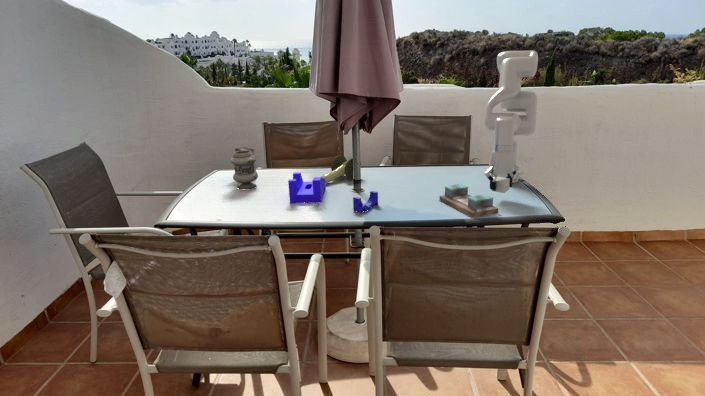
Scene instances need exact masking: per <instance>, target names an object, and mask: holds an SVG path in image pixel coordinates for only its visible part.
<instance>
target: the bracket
mask: <svg viewBox="0 0 705 396" xmlns="http://www.w3.org/2000/svg"><path fill="white" fill-rule="evenodd" d="M287 182H288V195H289V196H288V197H289V204H309V203H308V202H315V203H314V204H317V203H316V202H321V203H322V198H323V195H324V192H325V191H326V184H325V179H323V178H322V177H321V176H314V177H313V179H312V181H304V180H303V176H302V173H301V172H300V171H298V172H293V173H292V179H291V178H290V179H288V181H287ZM304 202H305V203H304ZM306 202H307V203H306Z"/></svg>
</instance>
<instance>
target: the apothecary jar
mask: <svg viewBox="0 0 705 396" xmlns="http://www.w3.org/2000/svg"><path fill="white" fill-rule="evenodd" d="M254 155H255V154H254ZM254 155H252V152H251V151H250V150H241V151H236V152H235V151H234V152H233V156H232V157H231V159H230V162H231V164H232V165H233V166H234V174H233V175H232V178H233V180H234V181H235V182H236V183H239V185H237V186H236V189H237V188H239V189H250V190H253V189H252V188H254V189H256V188H257V184H256V183H252V182H254V181H256V180H257V179H258V177H259V173H258V172H257V170H256V171H255V169H254V162H255V163H256V161H257V159H256V156H254ZM255 187H256V188H255Z"/></svg>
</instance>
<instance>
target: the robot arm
mask: <svg viewBox="0 0 705 396" xmlns="http://www.w3.org/2000/svg"><path fill="white" fill-rule="evenodd" d="M538 62H539V55H538V52H537V51H536V50H530V49H529V50H507V51H501V52H499V53H498V54H497V57H496V64H497V65H496V67H497V70H498V73H499V81H498V89H497V91H495V92H494V94H493V95H492V96H491V97H490V98H489V100H488V101H487V103H486V105H485V106H486V107H485V112H484V121H483V123H484V124H483V125H484V129H486V130H487V131H490V132H494V135H493V150H491V152H490V156H489V161H488V168H487V169H486V171H485V172H484V175H485V177H486V178H487V180H489V189H490V190H491V191H492V190H493V191H492V192H495V190H496V182H495V180H496V178H497V177H503V178H509V179H510V187H509V188H512V187H513V184H516V183H518V181H519V178H518V176H523V175H524V170H519V169H520V168H519V166H518V165H517V157H518V156H517V155H518V143H517V141H516V139H515V138H514V136H515V137H516V136H518V137H519V136H520V137H521V136H522V137H523V136H524V137H529V136H533V135H534V133H535V130H536V123H537V122H536V120H537V109H538V108H537V107H538V106H537V105H538V97H537V94H536V92H535V91H532V90H521V89H522V88H521V87H522V79H521V78H533V77H534V76H535V75H536V74H537V71H538V70H537V69H538V64H539V63H538ZM498 104H500V109H501V110H502V111H504V112H493V110H494V108H495V107H496V106H498ZM517 113H525V114H517ZM518 170H519V171H518Z"/></svg>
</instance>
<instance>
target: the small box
mask: <svg viewBox="0 0 705 396" xmlns="http://www.w3.org/2000/svg"><path fill="white" fill-rule="evenodd" d="M495 182H496V190H495V191H493V190H491V191H492V192H495V193H501V194H502V193H503V194H505V193H507V192H508V191H509V190H510V188H511V187H510V179H509V178H503V177H497V178H496V180H495Z"/></svg>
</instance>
